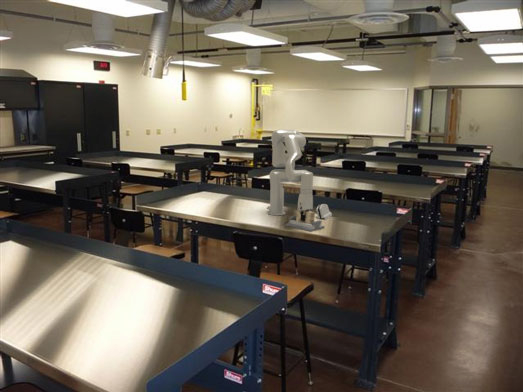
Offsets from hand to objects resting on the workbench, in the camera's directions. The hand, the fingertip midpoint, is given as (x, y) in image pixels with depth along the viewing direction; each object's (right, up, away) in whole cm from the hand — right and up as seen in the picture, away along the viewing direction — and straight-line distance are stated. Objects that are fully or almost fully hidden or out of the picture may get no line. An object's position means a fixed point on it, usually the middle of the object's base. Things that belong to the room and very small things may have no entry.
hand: (305, 219), depth 284 cm
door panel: (0, -3, +1) cm, 3 cm away
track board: (0, -4, +1) cm, 4 cm away
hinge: (+16, 0, +30) cm, 34 cm away
